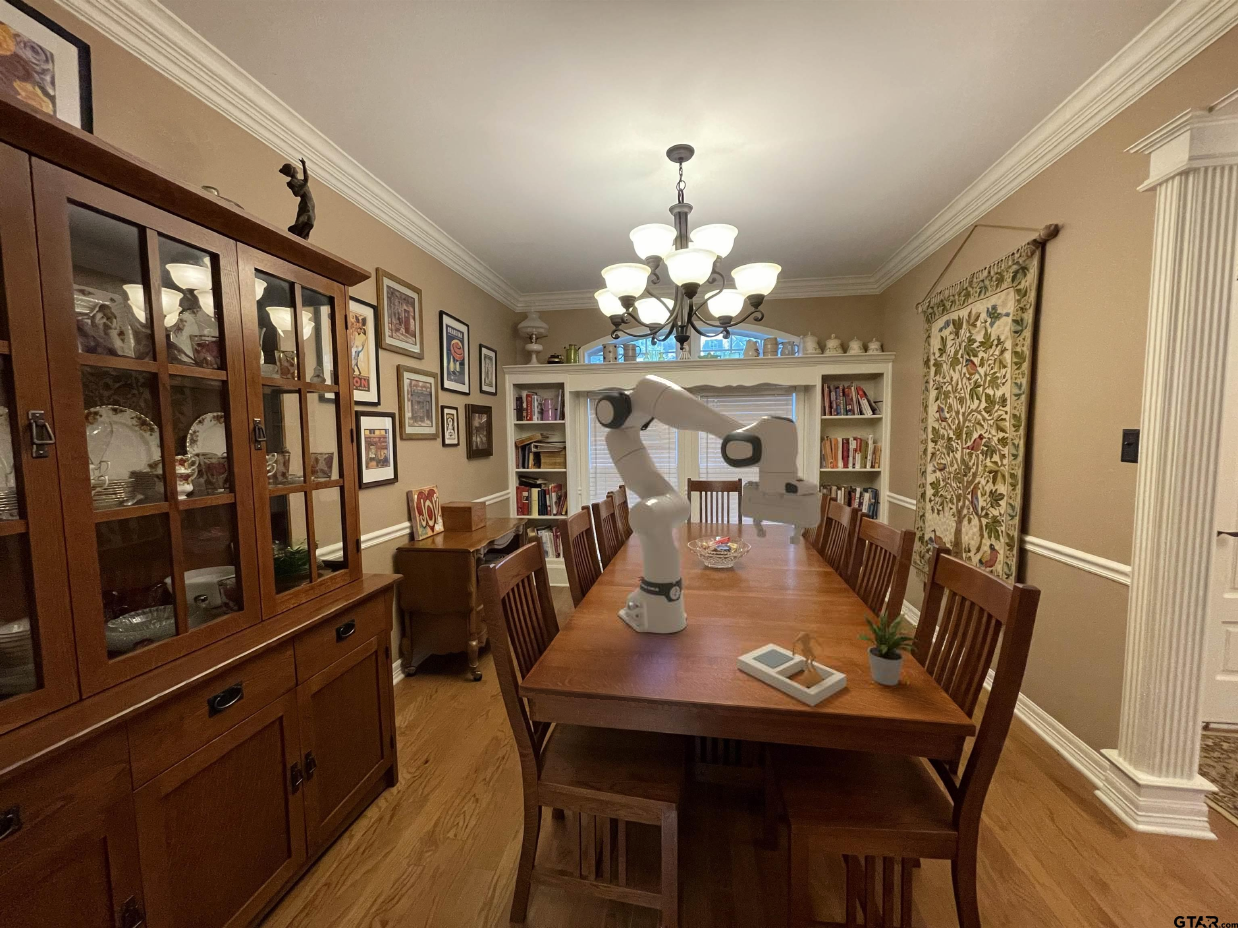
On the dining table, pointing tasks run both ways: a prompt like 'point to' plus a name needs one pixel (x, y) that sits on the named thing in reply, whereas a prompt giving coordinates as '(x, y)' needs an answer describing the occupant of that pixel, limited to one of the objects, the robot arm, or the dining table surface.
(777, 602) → the dining table surface
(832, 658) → the dining table surface
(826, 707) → the dining table surface
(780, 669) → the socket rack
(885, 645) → the house plant
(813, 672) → the figurine
